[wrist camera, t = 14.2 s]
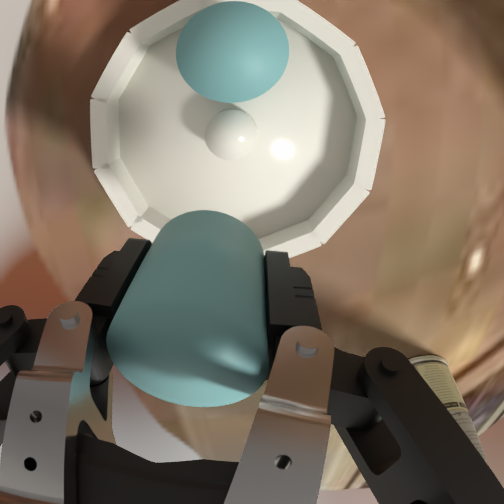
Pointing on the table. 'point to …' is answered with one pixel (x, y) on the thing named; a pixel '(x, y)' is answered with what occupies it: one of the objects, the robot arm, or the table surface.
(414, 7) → the table surface
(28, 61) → the table surface
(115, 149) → the ring tray
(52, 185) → the table surface
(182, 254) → the bead
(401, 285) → the table surface
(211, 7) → the bead
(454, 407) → the coffee can
